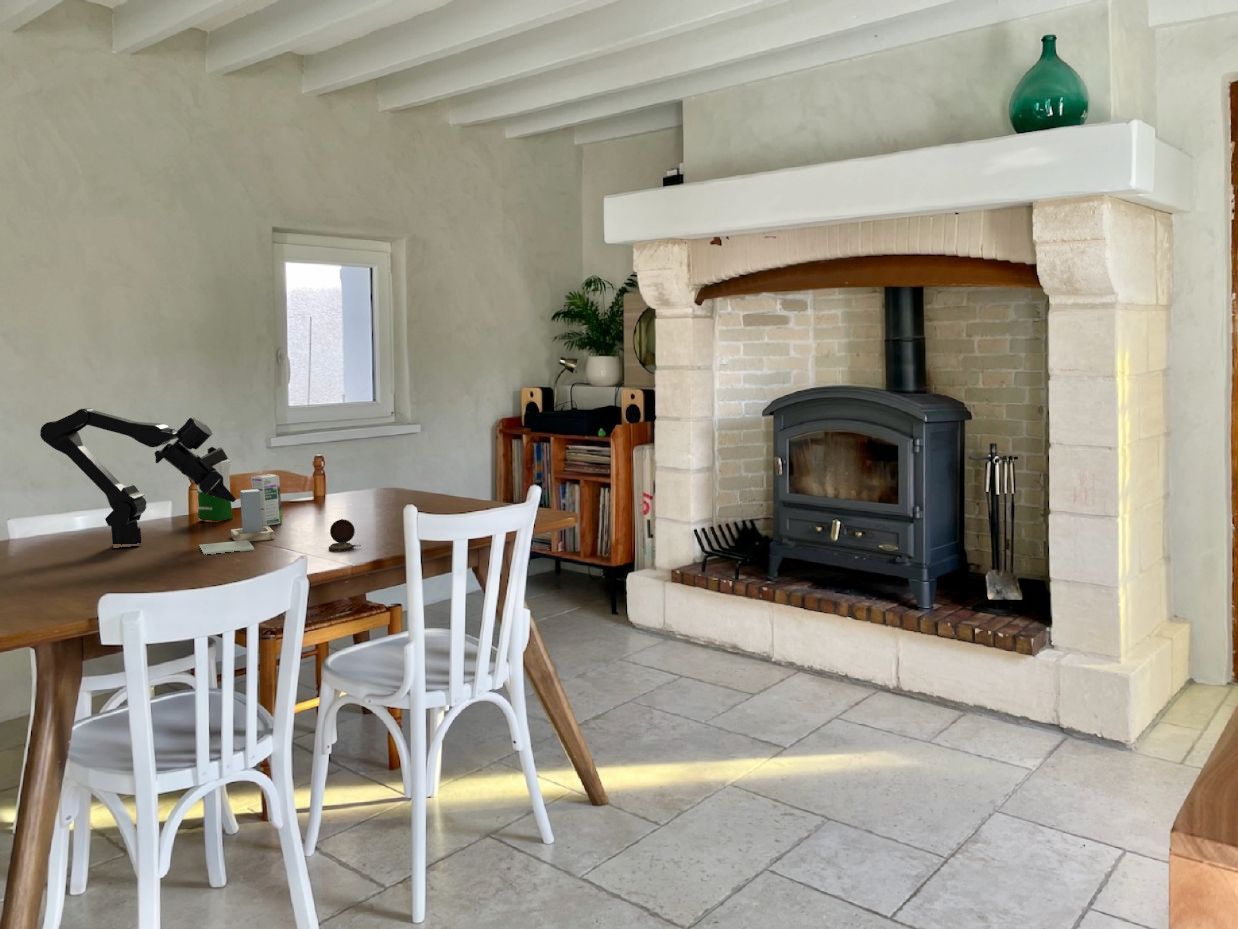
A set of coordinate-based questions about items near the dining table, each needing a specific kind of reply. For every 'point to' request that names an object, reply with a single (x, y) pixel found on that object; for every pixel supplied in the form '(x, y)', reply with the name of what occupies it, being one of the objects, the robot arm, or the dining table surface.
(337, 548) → the compass
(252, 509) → the link block
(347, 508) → the dining table surface
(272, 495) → the syrup box
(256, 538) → the holder
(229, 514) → the milk carton
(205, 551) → the plate
